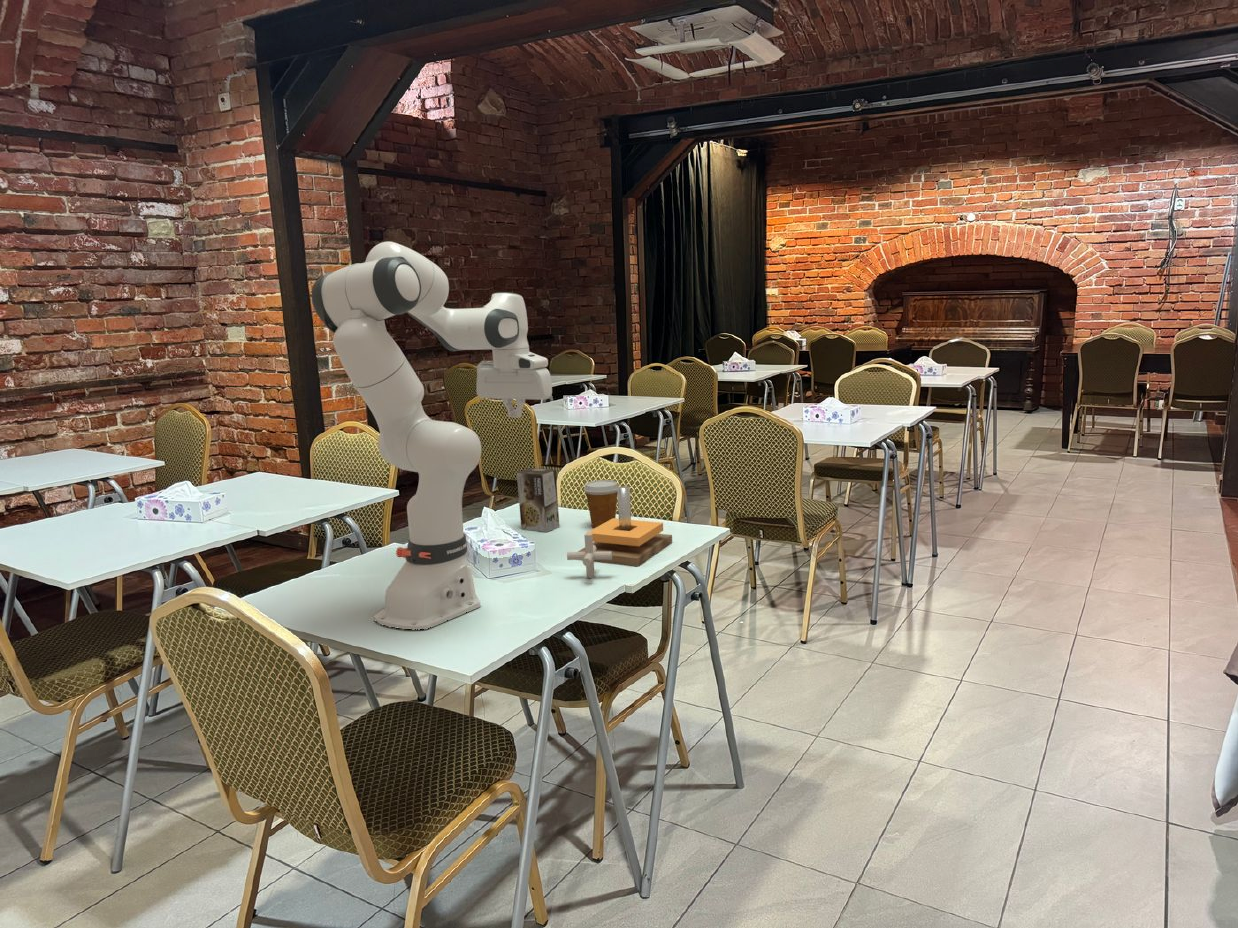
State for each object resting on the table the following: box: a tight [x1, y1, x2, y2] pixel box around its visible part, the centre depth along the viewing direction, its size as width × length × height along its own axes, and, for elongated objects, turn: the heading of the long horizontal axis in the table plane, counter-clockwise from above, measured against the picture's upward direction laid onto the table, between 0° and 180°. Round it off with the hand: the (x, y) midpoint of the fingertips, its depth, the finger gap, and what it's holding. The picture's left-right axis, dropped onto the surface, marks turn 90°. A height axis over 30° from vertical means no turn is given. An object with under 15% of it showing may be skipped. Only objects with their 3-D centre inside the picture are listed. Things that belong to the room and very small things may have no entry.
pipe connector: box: [566, 532, 612, 579], centre depth 191 cm, size 10×10×10 cm
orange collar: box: [586, 517, 664, 546], centre depth 209 cm, size 14×14×2 cm
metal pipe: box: [615, 485, 632, 546], centre depth 208 cm, size 6×6×14 cm
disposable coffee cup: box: [583, 479, 620, 529], centre depth 231 cm, size 10×10×12 cm
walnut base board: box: [577, 533, 673, 567], centre depth 209 cm, size 20×16×2 cm
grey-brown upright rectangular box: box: [516, 467, 560, 533], centre depth 232 cm, size 9×6×16 cm
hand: (515, 417), depth 208 cm, fingers closed
